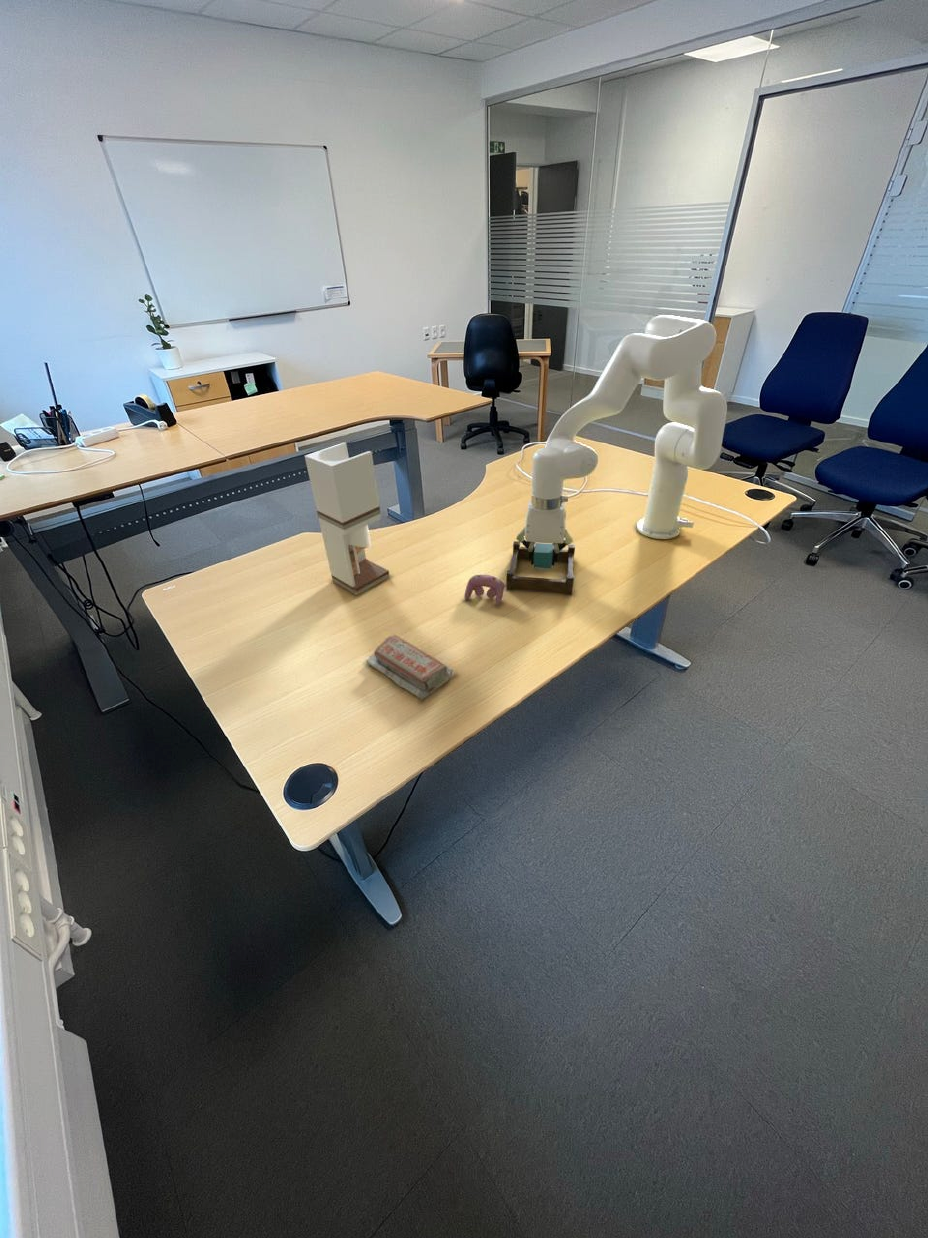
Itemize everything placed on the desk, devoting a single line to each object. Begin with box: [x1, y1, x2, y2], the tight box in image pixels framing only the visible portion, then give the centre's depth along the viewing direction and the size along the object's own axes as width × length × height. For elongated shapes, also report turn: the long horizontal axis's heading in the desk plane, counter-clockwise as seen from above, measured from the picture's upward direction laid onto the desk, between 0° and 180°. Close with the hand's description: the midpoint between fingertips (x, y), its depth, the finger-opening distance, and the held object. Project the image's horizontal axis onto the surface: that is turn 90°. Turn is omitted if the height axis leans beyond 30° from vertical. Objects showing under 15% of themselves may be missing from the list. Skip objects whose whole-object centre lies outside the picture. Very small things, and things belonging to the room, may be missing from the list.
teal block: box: [532, 542, 554, 570], centre depth 138 cm, size 5×5×5 cm
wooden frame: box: [505, 540, 576, 596], centre depth 140 cm, size 17×17×5 cm
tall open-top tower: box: [304, 441, 390, 596], centre depth 132 cm, size 11×11×35 cm
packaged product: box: [365, 634, 455, 701], centre depth 112 cm, size 18×5×10 cm
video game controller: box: [464, 574, 506, 607], centre depth 132 cm, size 10×5×7 cm, turn 71°
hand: (543, 562), depth 139 cm, fingers closed on teal block, 4 cm apart
